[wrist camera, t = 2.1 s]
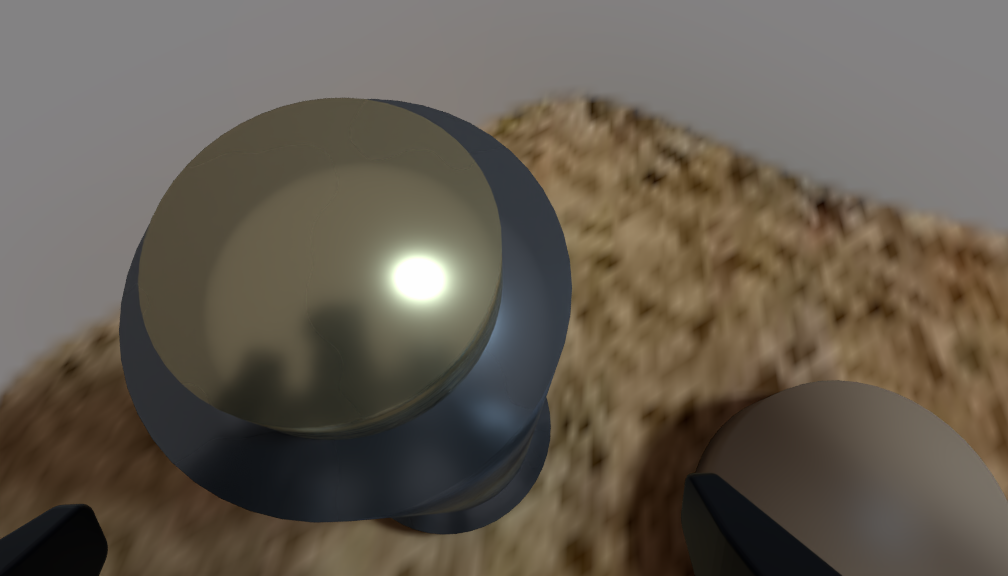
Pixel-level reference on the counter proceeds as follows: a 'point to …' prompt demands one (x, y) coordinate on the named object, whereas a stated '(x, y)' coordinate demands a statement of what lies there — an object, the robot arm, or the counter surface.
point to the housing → (351, 317)
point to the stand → (866, 481)
